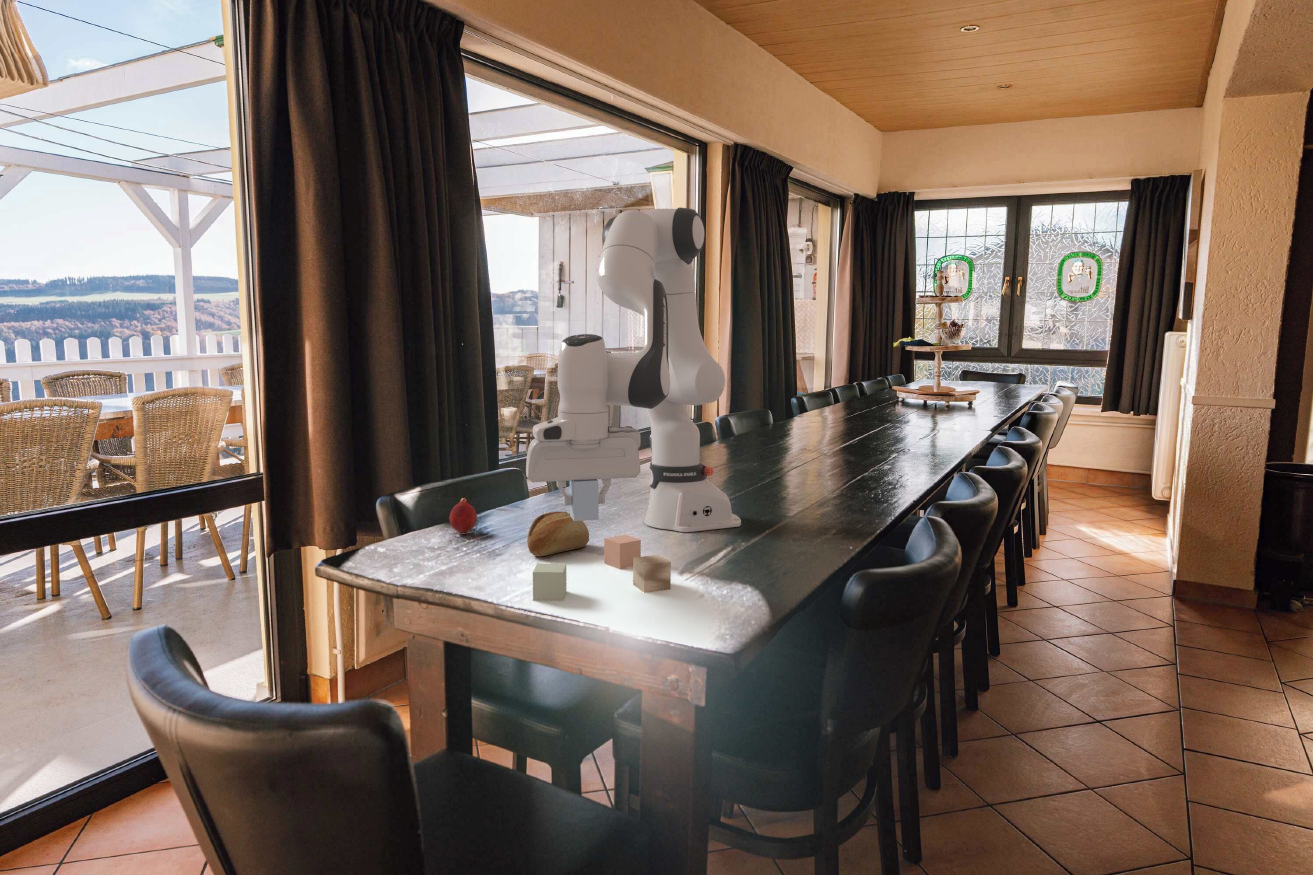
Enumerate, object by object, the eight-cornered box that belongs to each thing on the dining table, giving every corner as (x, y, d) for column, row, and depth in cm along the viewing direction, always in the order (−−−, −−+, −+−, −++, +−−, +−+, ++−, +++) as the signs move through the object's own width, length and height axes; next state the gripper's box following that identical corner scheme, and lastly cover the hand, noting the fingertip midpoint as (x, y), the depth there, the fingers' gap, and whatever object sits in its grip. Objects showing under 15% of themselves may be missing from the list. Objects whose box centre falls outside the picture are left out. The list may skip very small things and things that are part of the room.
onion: (470, 538, 178) (469, 501, 177) (445, 536, 179) (444, 500, 178) (481, 531, 183) (480, 496, 182) (457, 530, 184) (456, 495, 183)
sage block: (566, 591, 143) (566, 563, 142) (563, 601, 138) (562, 572, 137) (537, 591, 143) (537, 563, 142) (533, 601, 138) (532, 571, 137)
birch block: (658, 581, 149) (659, 554, 148) (670, 589, 144) (670, 561, 144) (633, 584, 147) (633, 557, 146) (644, 593, 142) (644, 564, 142)
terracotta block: (624, 559, 163) (625, 534, 162) (640, 565, 159) (640, 539, 159) (604, 563, 160) (604, 538, 159) (619, 569, 156) (619, 543, 155)
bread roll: (513, 555, 165) (513, 516, 164) (565, 540, 177) (565, 503, 176) (548, 563, 159) (548, 523, 158) (599, 548, 171) (599, 510, 170)
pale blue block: (594, 514, 151) (593, 476, 150) (598, 519, 147) (598, 480, 146) (570, 515, 150) (569, 477, 149) (573, 521, 146) (573, 482, 145)
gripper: (636, 423, 152) (636, 497, 154) (524, 426, 147) (525, 503, 148) (644, 427, 146) (644, 504, 148) (527, 431, 140) (529, 511, 142)
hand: (583, 504), depth 148 cm, fingers closed on pale blue block, 4 cm apart
